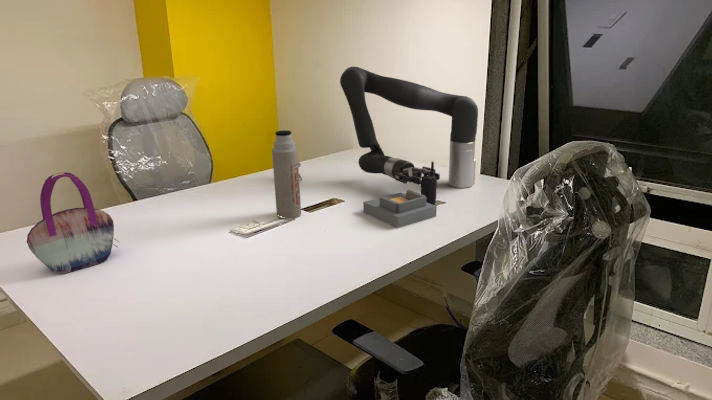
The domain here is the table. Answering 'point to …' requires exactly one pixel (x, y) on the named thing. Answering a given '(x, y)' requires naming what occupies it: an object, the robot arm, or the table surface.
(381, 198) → the tray
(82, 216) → the handbag
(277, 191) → the thermos bottle
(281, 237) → the table surface
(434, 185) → the two-way radio
